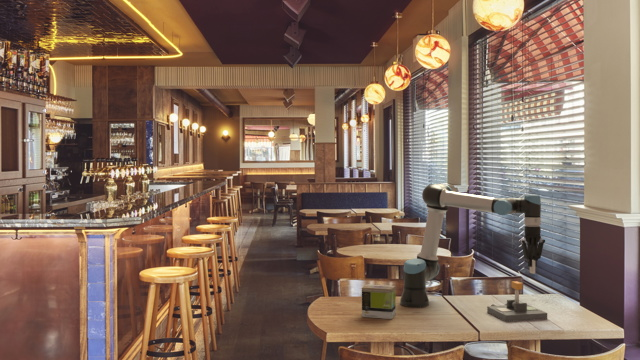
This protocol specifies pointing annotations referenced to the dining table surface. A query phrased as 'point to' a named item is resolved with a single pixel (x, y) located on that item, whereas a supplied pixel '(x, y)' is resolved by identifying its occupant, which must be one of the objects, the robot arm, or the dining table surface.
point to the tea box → (378, 301)
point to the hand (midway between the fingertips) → (532, 273)
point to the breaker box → (516, 312)
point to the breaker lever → (516, 290)
